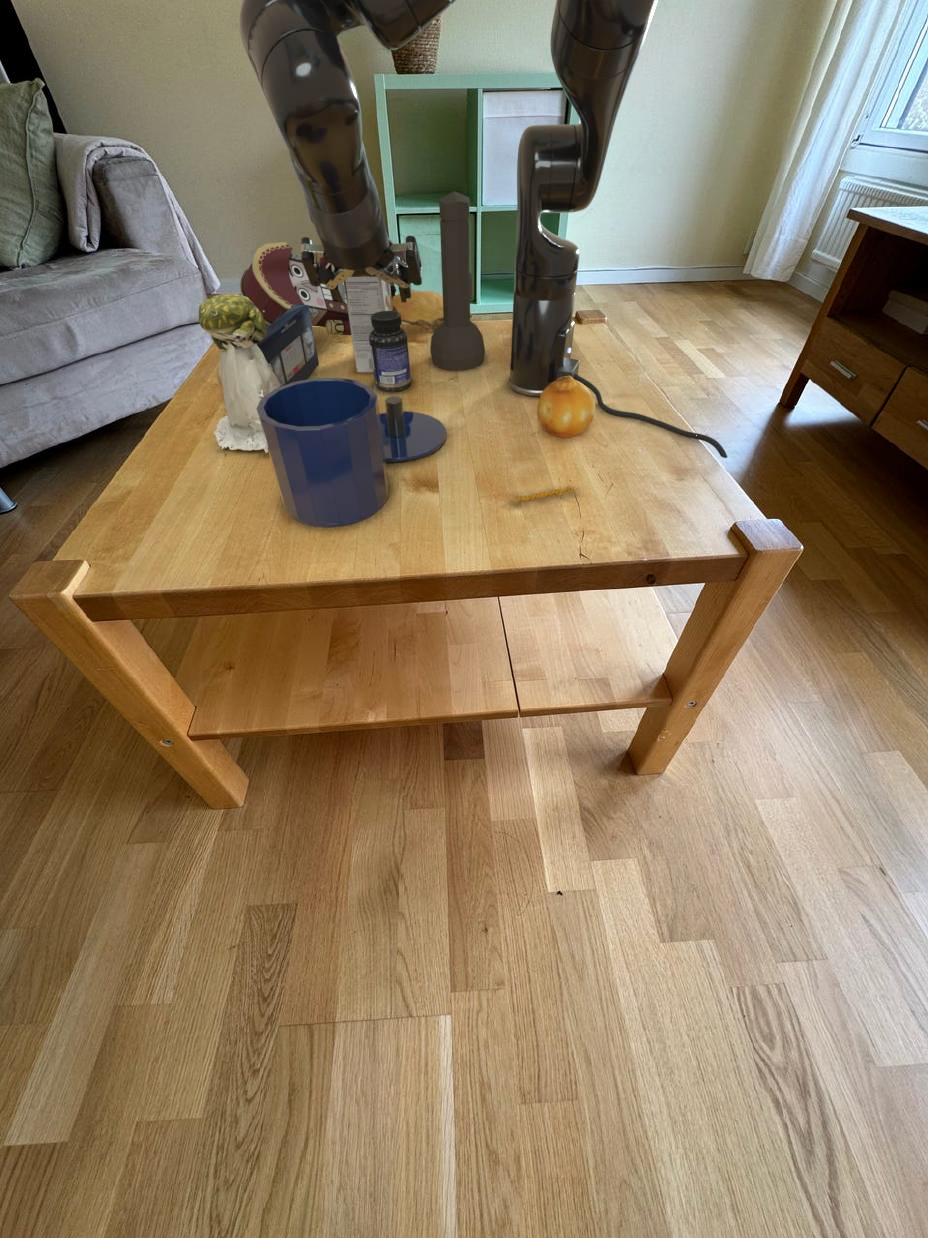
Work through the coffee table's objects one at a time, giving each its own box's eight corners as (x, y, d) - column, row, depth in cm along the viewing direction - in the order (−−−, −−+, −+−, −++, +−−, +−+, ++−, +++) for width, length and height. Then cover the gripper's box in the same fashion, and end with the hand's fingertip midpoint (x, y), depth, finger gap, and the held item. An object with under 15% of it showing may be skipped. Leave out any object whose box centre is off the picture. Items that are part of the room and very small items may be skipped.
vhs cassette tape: (277, 410, 90) (260, 344, 83) (259, 408, 91) (241, 342, 84) (322, 364, 103) (311, 304, 96) (307, 363, 103) (294, 303, 96)
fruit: (517, 416, 83) (549, 373, 77) (544, 400, 88) (575, 359, 82) (556, 457, 83) (591, 417, 77) (580, 438, 88) (615, 400, 82)
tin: (405, 479, 75) (396, 386, 67) (357, 536, 67) (339, 438, 58) (319, 462, 79) (299, 371, 70) (263, 514, 70) (232, 418, 61)
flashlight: (436, 373, 100) (491, 367, 101) (427, 198, 82) (494, 194, 83) (426, 353, 107) (477, 347, 108) (416, 187, 89) (477, 183, 90)
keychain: (574, 490, 72) (571, 494, 73) (571, 483, 72) (568, 487, 73) (516, 502, 70) (515, 506, 71) (514, 495, 71) (512, 499, 71)
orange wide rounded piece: (480, 332, 117) (455, 302, 120) (485, 313, 114) (460, 282, 117) (407, 344, 110) (383, 312, 113) (411, 324, 106) (386, 291, 109)
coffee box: (363, 353, 107) (350, 254, 95) (397, 353, 107) (388, 253, 95) (356, 373, 100) (341, 269, 89) (392, 373, 100) (381, 269, 89)
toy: (428, 315, 108) (282, 284, 88) (390, 351, 117) (251, 331, 97) (407, 245, 108) (257, 198, 88) (372, 287, 117) (229, 253, 97)
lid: (460, 426, 86) (459, 386, 82) (422, 473, 77) (419, 430, 72) (376, 412, 90) (371, 373, 85) (330, 455, 80) (322, 413, 76)
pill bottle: (418, 384, 97) (413, 314, 89) (391, 396, 93) (384, 324, 86) (394, 375, 100) (387, 306, 92) (367, 386, 96) (358, 315, 89)
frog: (199, 436, 84) (148, 300, 71) (270, 405, 91) (236, 276, 78) (247, 462, 79) (201, 320, 66) (319, 427, 86) (291, 292, 72)
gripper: (412, 175, 61) (425, 267, 77) (280, 177, 61) (321, 269, 78) (412, 245, 61) (425, 323, 77) (280, 247, 61) (321, 324, 78)
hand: (373, 296), depth 77 cm, fingers open, 8 cm apart
